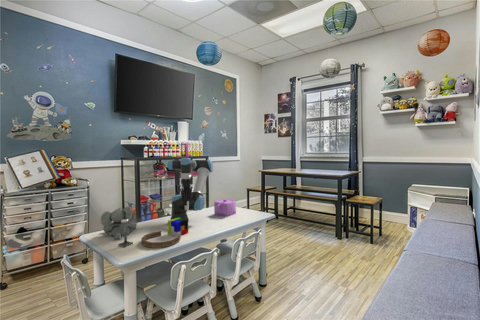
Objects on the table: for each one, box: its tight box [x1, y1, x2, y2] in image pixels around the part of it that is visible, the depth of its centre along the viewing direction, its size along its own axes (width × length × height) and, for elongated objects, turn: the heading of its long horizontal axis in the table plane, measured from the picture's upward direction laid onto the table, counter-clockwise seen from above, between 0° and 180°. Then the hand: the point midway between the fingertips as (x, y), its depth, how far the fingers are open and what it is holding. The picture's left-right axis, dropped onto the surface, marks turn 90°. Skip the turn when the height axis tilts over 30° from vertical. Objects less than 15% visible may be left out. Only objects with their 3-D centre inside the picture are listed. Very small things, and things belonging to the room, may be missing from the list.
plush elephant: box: [100, 206, 137, 241], centre depth 187 cm, size 27×22×21 cm
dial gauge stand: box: [118, 219, 138, 248], centre depth 166 cm, size 8×8×16 cm
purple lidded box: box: [213, 198, 237, 217], centre depth 243 cm, size 15×25×14 cm, turn 144°
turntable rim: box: [141, 230, 181, 249], centre depth 171 cm, size 24×21×3 cm
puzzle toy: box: [167, 218, 189, 238], centre depth 188 cm, size 10×10×10 cm
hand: (186, 209), depth 196 cm, fingers closed
